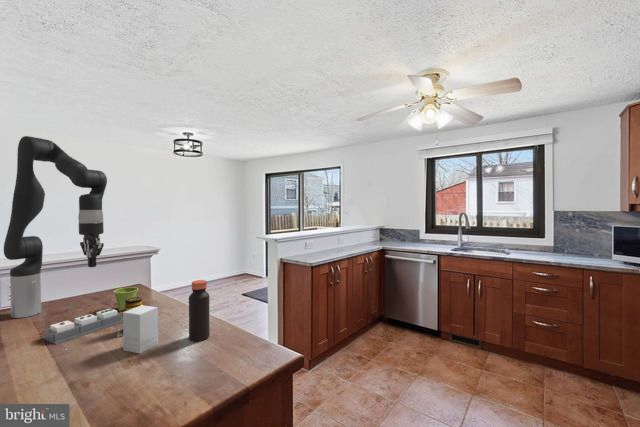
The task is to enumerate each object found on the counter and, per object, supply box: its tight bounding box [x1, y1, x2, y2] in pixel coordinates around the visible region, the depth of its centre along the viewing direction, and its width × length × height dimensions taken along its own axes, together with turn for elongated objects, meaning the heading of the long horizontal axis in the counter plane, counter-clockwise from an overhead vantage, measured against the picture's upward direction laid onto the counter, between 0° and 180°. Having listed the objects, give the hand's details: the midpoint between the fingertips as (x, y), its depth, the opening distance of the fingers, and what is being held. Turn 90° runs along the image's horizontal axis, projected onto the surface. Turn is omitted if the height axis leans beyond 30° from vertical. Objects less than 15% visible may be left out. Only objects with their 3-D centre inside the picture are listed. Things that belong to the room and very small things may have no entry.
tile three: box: [96, 308, 118, 319], centre depth 118 cm, size 5×5×3 cm
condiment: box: [116, 296, 143, 338], centre depth 110 cm, size 7×8×12 cm
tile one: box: [49, 320, 74, 333], centre depth 105 cm, size 5×5×3 cm
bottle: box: [188, 279, 210, 342], centre depth 105 cm, size 7×7×20 cm
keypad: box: [41, 312, 123, 345], centre depth 111 cm, size 10×22×3 cm, turn 153°
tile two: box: [74, 313, 97, 326], centre depth 111 cm, size 5×5×3 cm
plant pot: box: [113, 286, 139, 312], centre depth 134 cm, size 9×9×9 cm
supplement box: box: [122, 304, 159, 355], centre depth 98 cm, size 7×7×13 cm
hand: (92, 266), depth 114 cm, fingers closed
